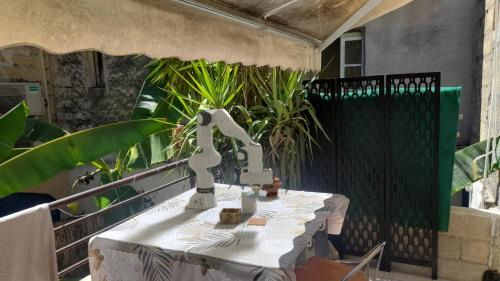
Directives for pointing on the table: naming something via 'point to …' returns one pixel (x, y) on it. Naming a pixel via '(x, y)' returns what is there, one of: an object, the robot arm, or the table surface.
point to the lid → (256, 193)
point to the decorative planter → (272, 187)
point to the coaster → (257, 221)
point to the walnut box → (230, 216)
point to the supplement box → (248, 203)
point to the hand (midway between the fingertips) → (256, 190)
